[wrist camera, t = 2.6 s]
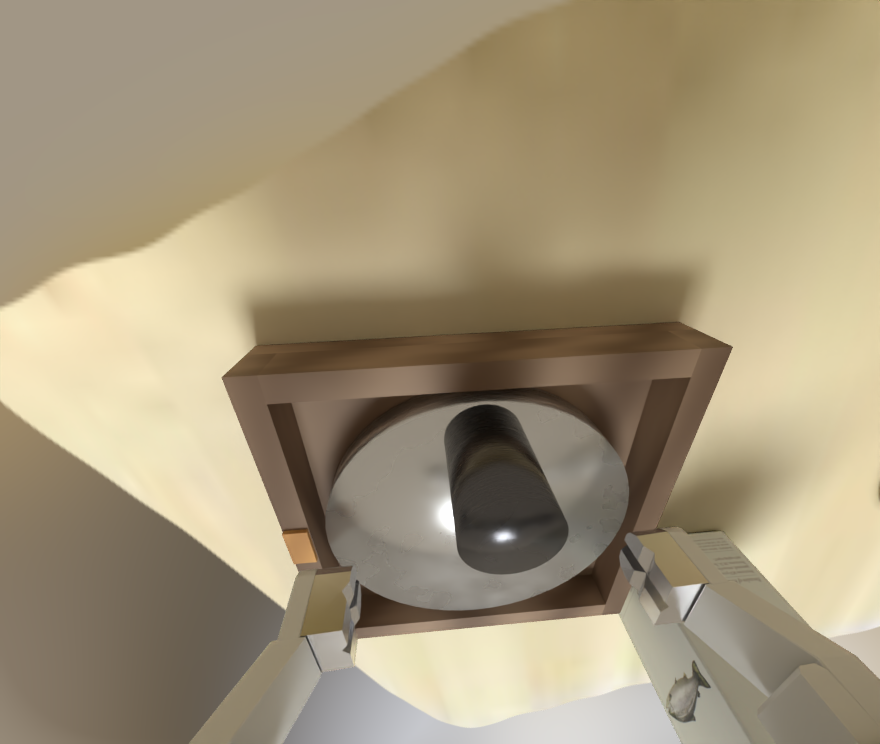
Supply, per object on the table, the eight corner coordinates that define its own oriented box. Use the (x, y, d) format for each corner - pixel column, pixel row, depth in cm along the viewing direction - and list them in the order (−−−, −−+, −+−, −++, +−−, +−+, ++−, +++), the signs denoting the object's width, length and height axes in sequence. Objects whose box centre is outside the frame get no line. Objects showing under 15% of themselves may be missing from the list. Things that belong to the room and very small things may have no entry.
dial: (584, 570, 23) (643, 700, 17) (356, 591, 22) (335, 734, 16) (642, 371, 16) (784, 478, 10) (303, 393, 15) (228, 523, 9)
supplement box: (624, 537, 24) (814, 841, 12) (723, 527, 24) (995, 816, 13) (604, 594, 27) (738, 872, 16) (691, 585, 27) (882, 852, 16)
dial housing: (679, 322, 16) (737, 349, 13) (598, 569, 25) (621, 616, 22) (255, 345, 15) (218, 380, 12) (336, 593, 24) (325, 645, 21)
